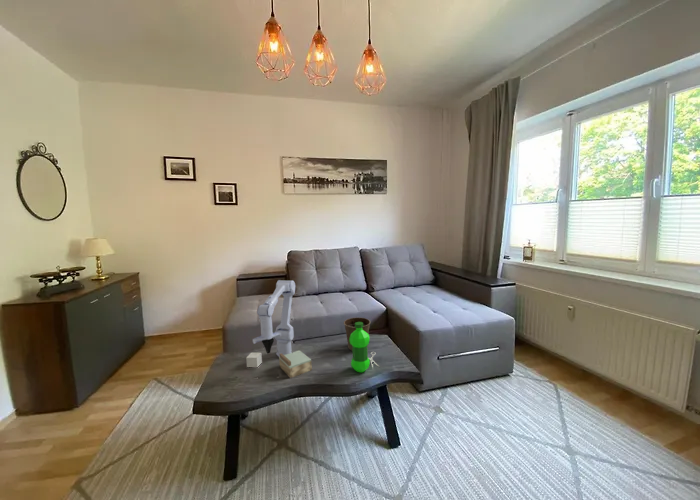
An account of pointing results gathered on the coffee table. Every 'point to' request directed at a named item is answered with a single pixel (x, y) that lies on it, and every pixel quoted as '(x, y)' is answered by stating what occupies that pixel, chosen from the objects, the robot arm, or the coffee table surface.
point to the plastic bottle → (359, 348)
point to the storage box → (295, 368)
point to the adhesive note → (254, 359)
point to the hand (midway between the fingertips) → (268, 352)
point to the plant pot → (351, 327)
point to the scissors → (372, 359)
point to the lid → (294, 359)
